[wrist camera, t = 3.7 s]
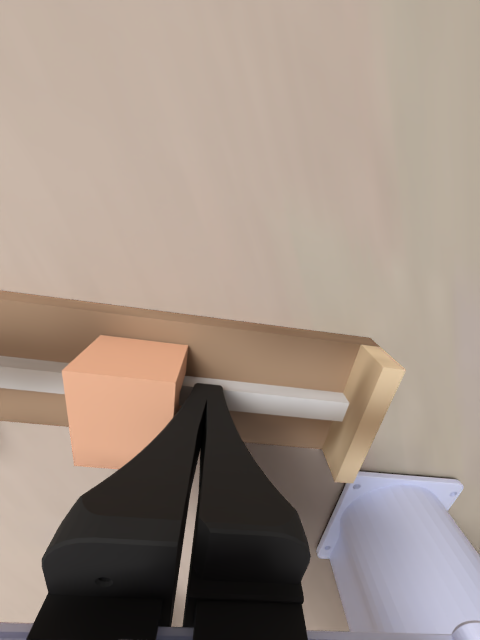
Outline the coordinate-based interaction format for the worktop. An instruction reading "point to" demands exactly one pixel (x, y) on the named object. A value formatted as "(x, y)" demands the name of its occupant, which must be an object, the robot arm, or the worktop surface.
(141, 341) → the block
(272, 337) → the rail board
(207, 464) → the robot arm
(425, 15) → the worktop surface
